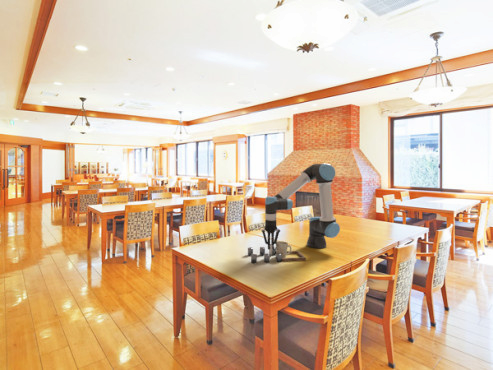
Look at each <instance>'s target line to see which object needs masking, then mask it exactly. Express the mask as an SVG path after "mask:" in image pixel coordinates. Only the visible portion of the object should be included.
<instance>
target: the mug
mask: <svg viewBox="0 0 493 370" xmlns="http://www.w3.org/2000/svg"><path fill="white" fill-rule="evenodd" d="M275 247H276V253H281V254H282V258H286V256H287V255H291V254H290V252H291V251H292V246H291V244H289V243H288V242H286V241H282V240H281V241H280V240H279V241H278V240H277V243H276V244H275ZM288 248H289V250H288ZM287 251H289V253H286V252H287Z"/></svg>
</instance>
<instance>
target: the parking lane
mask: <svg viewBox="0 0 493 370" xmlns="http://www.w3.org/2000/svg"><path fill="white" fill-rule="evenodd" d="M289 251H290V250H287V252H286V253H289ZM289 255H297V256H298V257H285V258H282V262H301V261H304V262H305V261H306V260H307V257H306V256H305V255H303V253H301V251H299V250H291V252H290V254H289Z"/></svg>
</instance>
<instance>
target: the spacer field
mask: <svg viewBox="0 0 493 370" xmlns="http://www.w3.org/2000/svg"><path fill="white" fill-rule="evenodd" d="M247 256H248V257H251V258H250V263H251V264H257V262H258V259H257V258H258V256H257V254H255V253H254V248H253V247H247ZM259 256H262V257H263V258H264V259H263V263H265V264H267V263H270V262H271V261H270V259H271V258H270V257H271V256H275V262H276V263H282V262H283V261H282V254H281V253H276V246H274V249H272V255H270V254H269V253H266V247H265V246H260V247H259Z"/></svg>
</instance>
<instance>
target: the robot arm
mask: <svg viewBox="0 0 493 370" xmlns="http://www.w3.org/2000/svg"><path fill="white" fill-rule="evenodd" d="M335 177H336V169H335V167H334V166H333V165H331V164H330V163H314V164H311V165H309V166H308V167H307V168H305V169H304V170H303V171H302V172H300V175H298V176H297V177H296V178H295V179H294V180H292V181H291V182H290V183H289V184H287V186H285V187H284V188H283V189H282V190H280V191H279V192H278V193H276V195H274V196H266V197H265V200H264V205H265V206H264V209H265V210H264V212H265V215H264V219H265V221H264V227H263V229H261V230H260V231H261V232H262V236H263V240H264V243H265V244H266V245H267V250H269V251H268V254H270V256H273V255H272V249H274V247H275V245H276V243H277V241H278V238H279V235H280V232H281V230H280V229H279V228H278V227H277V211H288V210H292V209H293V207H294V203H293V200H292V199H291V198H290V197H292V196H293V195H294V194H296V192H298V191H299V190H300V189H301V188H302V187H304V186H305V185H306V184H307V183H308V184H309V183H311V182H312V181H314V180H315V183H316V184H317V185H318V193H319V194H318V195H319V203H320V204H319V206H320V215H321V216H310V217H309V221H308V223H309V225H308V226H309V227H308V228H309V229H308V230H309V233H308V237H307V241H306V246H307V247H308V248H312V249H325V248H327V241H326V238H331V239H332V238H336V237H337V236H338V235H339V233H340V230H341V227H340V224H339V223H337V219H336V217H335V216H334V207H333V197H332V183H333V182H334V181H333V180H334V179H335ZM266 233H267V235H266Z"/></svg>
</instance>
